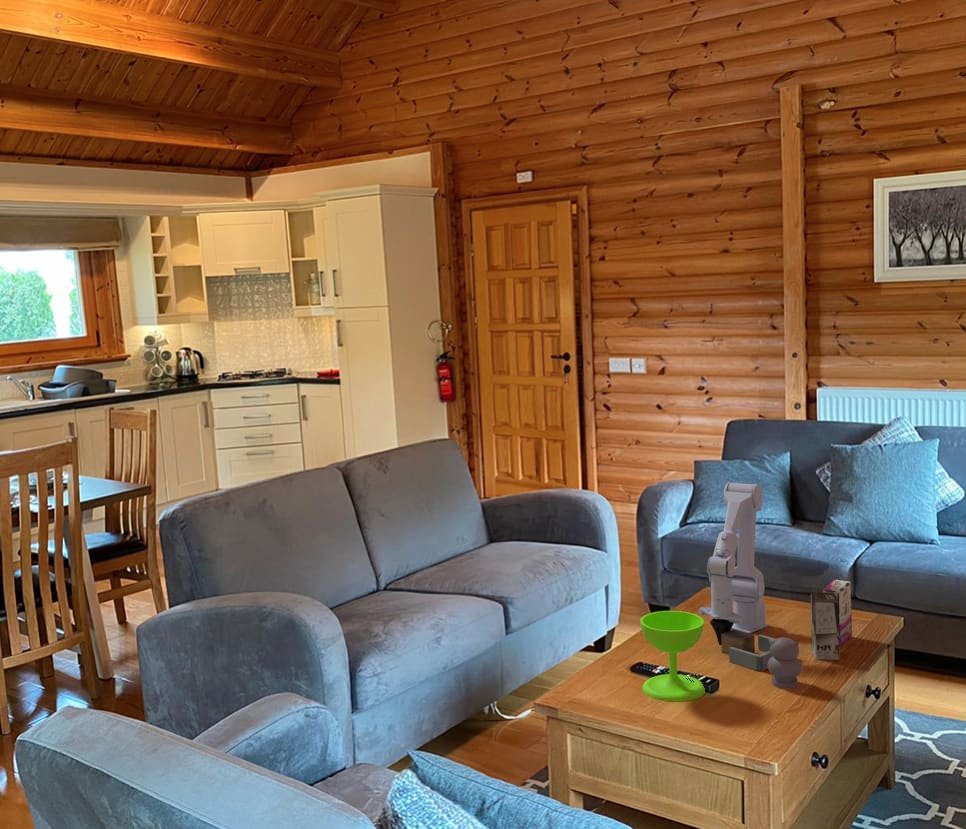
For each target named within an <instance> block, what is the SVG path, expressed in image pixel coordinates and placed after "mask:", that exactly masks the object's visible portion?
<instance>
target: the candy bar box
mask: <svg viewBox="0 0 966 829" xmlns="http://www.w3.org/2000/svg"><path fill="white" fill-rule="evenodd" d="M851 585H852V584H851V581H848V580H843V579H834V580H832V581H831V582H830V583H829V584H827V585H826V586H825V587H823V589H822V591H821V593H834V594H835V596H836V598H837V599H838V601H839V649H841V648H842V647H841V646H842V645H843V644H844V643H845V644H846V642H848V641H849V639H850V638H851V637H852V636H853V631H852V629H853V627H852V626H853V625H852V624H853V623H852V621H853V620H852V588H851V587H852V586H851ZM845 644H844V645H845ZM844 645H843V646H844ZM840 647H841V648H840Z"/></svg>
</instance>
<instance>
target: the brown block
mask: <svg viewBox="0 0 966 829" xmlns="http://www.w3.org/2000/svg"><path fill="white" fill-rule="evenodd" d="M721 638H722V645H721V654H725V655H728V656H729V648H730V647H734V648H737V649H741V650H744V651H748V652H751V653H754V654H756V650H755V649H756V648H755V647H756V646H755V634H752V633H746V632H742V631H739V630H735V629H731V630H730V631H727V632H725V633H723V634H721Z"/></svg>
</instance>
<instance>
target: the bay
mask: <svg viewBox="0 0 966 829" xmlns="http://www.w3.org/2000/svg"><path fill="white" fill-rule="evenodd" d="M768 638H772V639H776V638H774V637H770V636H768V635H763V634H759V635H757V648H758V650H759V651H762V652H763V653H760V654H759V653H758V654H757V653H755V654H754V653H751V652H748V651H744V650H741V649H737V648H734V647H730V648H729V655H728V659H729V660H728V663H730V664H731V663H732V664H734V665H738V666H741V667H742V668H744V667H745V668H747V669H751V670H753V671H756V672H763V671H766V670H769V669H768V661H769V659H770V658H771V657H772V656H773V655H772V654H771V652H770V646H771V644H770V642H769V639H768Z"/></svg>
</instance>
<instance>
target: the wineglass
mask: <svg viewBox="0 0 966 829" xmlns="http://www.w3.org/2000/svg"><path fill="white" fill-rule="evenodd" d="M639 619H640V620H639V622H640V628H641V632H642V633H643V636H644V638H645V639H646V641H647V642H649V644H650V645H651V647H654V648H655V649H656V650H658V651H660V652H664V653H667V654H668V664H669V665H668V666H669V667H668V668H669V673H666V674H659V675H655V676H653V677H650V678H648V679H646V681H645V682H644V683H643V685H642V687H641V688H642V689H641V690H642V692H643V693H644V694H645V695H646V696H648V697H650V698H652V699H655V700H657V701H664V702H673V703H674V702H677V703H678V702H679V703H680V702H682V703H683V702H688V701H693V700H696V699H699V698H701V697H703V696H704V695H705V694H706V691H705V689H706V687H705V688H704V686H705V685H704V686H703V684H704V683H703V682H702V681H700V680H699V679H697V678H696V677H693V676H689V675H685V674H680V673H679V674H678V662H677V661H678V660H677V659H678V656H677V655H678V653H682V652H683V653H684V652H687V651H688V650H689V649H691V648H693V647H694V646H695V645H696V644H697V642H699V640H700V638H701V636H702V634H703V631H704V627H705V626H704V625H705V620H704V619H703V618H702V617H701V615H698V614H695V613H691V612H688V611H680V610H661V611H654V612H651V613H647V614H644V615H643V616H642V617H641V618H639ZM686 678H687V679H688V678H689V679H690V680H691V681H692V680H693V681H694V682H693V681H692V682H691V681H690V680H689V679H688V680H687V679H686ZM702 683H703V684H702Z"/></svg>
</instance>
